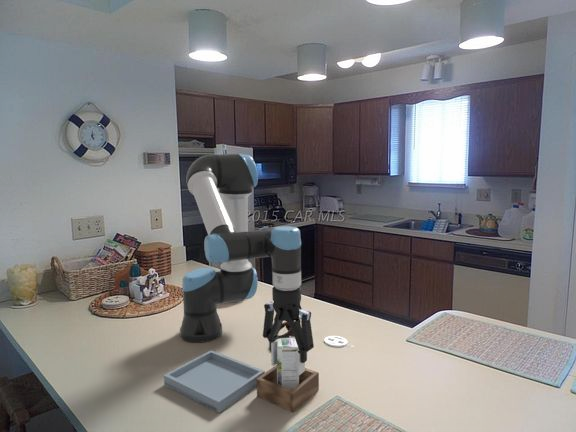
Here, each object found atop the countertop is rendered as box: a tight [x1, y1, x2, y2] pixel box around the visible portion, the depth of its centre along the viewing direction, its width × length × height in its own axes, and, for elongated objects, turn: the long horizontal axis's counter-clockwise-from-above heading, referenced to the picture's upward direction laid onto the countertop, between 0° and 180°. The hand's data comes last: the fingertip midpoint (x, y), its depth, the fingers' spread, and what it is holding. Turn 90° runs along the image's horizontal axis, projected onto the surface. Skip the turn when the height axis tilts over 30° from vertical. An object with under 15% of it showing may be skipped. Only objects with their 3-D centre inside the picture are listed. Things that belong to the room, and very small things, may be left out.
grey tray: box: [163, 349, 266, 414], centre depth 114 cm, size 22×18×3 cm
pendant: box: [323, 335, 355, 348], centre depth 138 cm, size 7×11×1 cm, turn 56°
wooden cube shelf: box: [256, 364, 320, 413], centre depth 109 cm, size 12×12×5 cm
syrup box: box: [276, 337, 299, 390], centre depth 108 cm, size 6×6×14 cm
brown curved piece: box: [276, 321, 295, 340], centre depth 139 cm, size 12×10×8 cm
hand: (287, 368), depth 108 cm, fingers closed on syrup box, 8 cm apart
